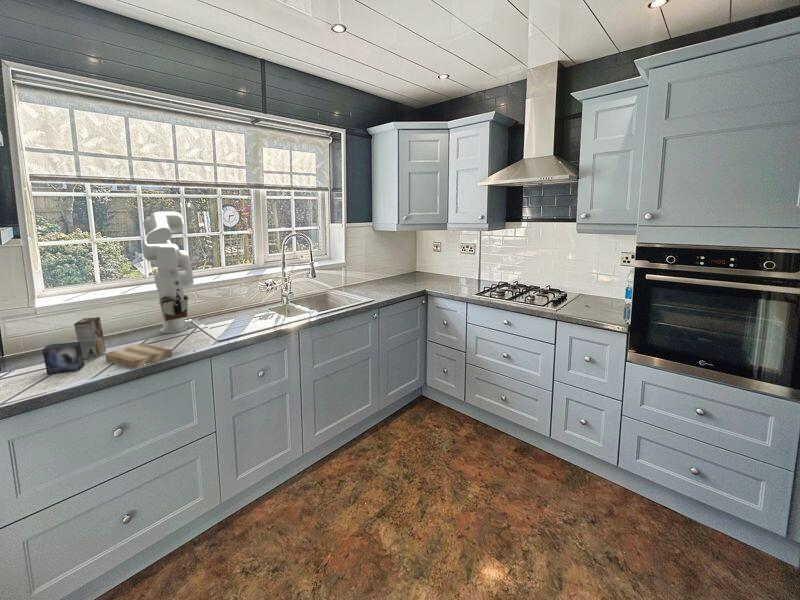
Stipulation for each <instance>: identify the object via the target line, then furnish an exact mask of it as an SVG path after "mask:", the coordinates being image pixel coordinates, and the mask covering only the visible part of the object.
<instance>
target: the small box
mask: <svg viewBox="0 0 800 600" xmlns="http://www.w3.org/2000/svg"><path fill="white" fill-rule="evenodd" d="M41 350H42V351H41V352H42V355H43V360H44V365H45V369H46V375H54V374H55V375H56V374H63V372H64V373H71V371H72V372H78V371H77V370H80V369H81V368H82V367H85V363H84V359H83V357H82V351H81V346H80V341H79V342H78V341H69V342H64V343H51V344H47V345H46V346H45V347H43V348H42V349H41ZM81 370H82V369H81ZM81 370H80V371H81Z"/></svg>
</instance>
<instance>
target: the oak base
mask: <svg viewBox="0 0 800 600" xmlns="http://www.w3.org/2000/svg"><path fill="white" fill-rule="evenodd" d="M172 352H173V351H172V349H171V348H166V347H162V346H158V345H154V344H151V343H146V342H143V343H140V344H139V343H138V344H136V345H131V346H128V347H125V348H121V349H118V350H114V351H110V352H107V353H105V360H106V361H107V362H109V363H113V364H115V365H116V364H117V365H119V364H120V365H119V366H123V365H124V366H123V367H126V366H127V367H126V368H129V367H131V368H130V369H133V368H135V367H138V366H141V365H144V364H147V365H149V364H148V363H150V364H151V362H153V363H155V362H154V361H156V362H158V361H157V360H159V361H161V360H160V359H162V360H164V359H163V358H165V359H167V358H166V357H168V358H171V357H173V353H172ZM170 356H171V357H170ZM144 366H145V365H144ZM141 367H142V366H141ZM138 368H139V367H138ZM135 369H136V368H135Z"/></svg>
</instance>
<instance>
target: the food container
mask: <svg viewBox="0 0 800 600" xmlns="http://www.w3.org/2000/svg"><path fill="white" fill-rule="evenodd" d="M176 298H177V297H176ZM183 298H184V299H183V301H182V304H181V308H182V313H180V314H175V312H174V306H175V305H174V302H173V299H168V298H164V297H162V298H160V300H159V302H158V303H159V306H160V305H161V306H162V310H163V315H164V319H165V321H171V320H176V319H180V318H183V319H185V318H188V307H189V306H188V304H189V303H188V301H190V299H189V296H188V295H186V294H184V297H183ZM176 302H177V300H176Z"/></svg>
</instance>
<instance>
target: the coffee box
mask: <svg viewBox="0 0 800 600" xmlns="http://www.w3.org/2000/svg"><path fill="white" fill-rule="evenodd" d="M73 324H74V330H75V333H76V340H77V342H79V341H80V346H81V351H82V357H83V360H90V359H89V358H92V359H99V358H100V357H101V356H102V355H103V354H104V353H105V352H107V349H106V343H105V338H104V334H103V327H102V322H101V317H100V316H98V317H86V318H81V319H80V320H78V321H77V322H75V323H73Z"/></svg>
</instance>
